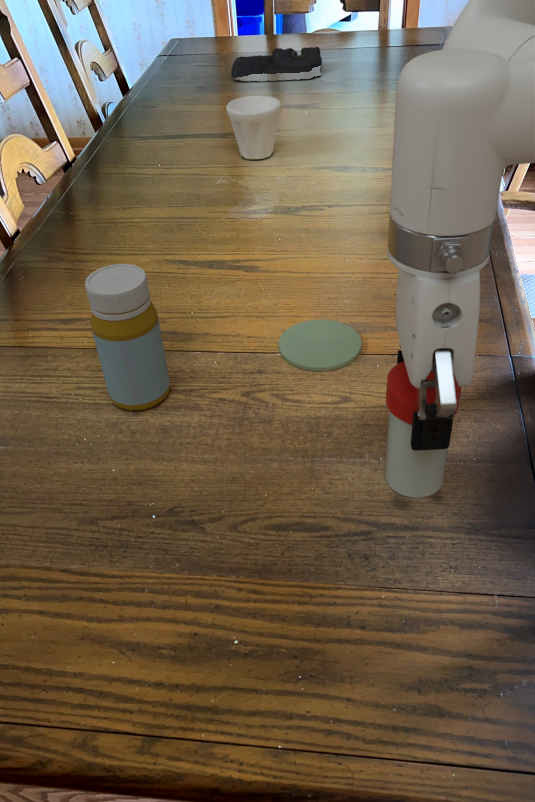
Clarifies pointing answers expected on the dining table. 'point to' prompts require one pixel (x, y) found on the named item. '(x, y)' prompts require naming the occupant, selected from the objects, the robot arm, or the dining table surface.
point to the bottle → (127, 337)
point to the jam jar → (412, 463)
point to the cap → (408, 393)
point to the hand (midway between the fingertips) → (420, 414)
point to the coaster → (320, 345)
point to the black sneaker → (278, 62)
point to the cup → (254, 124)
